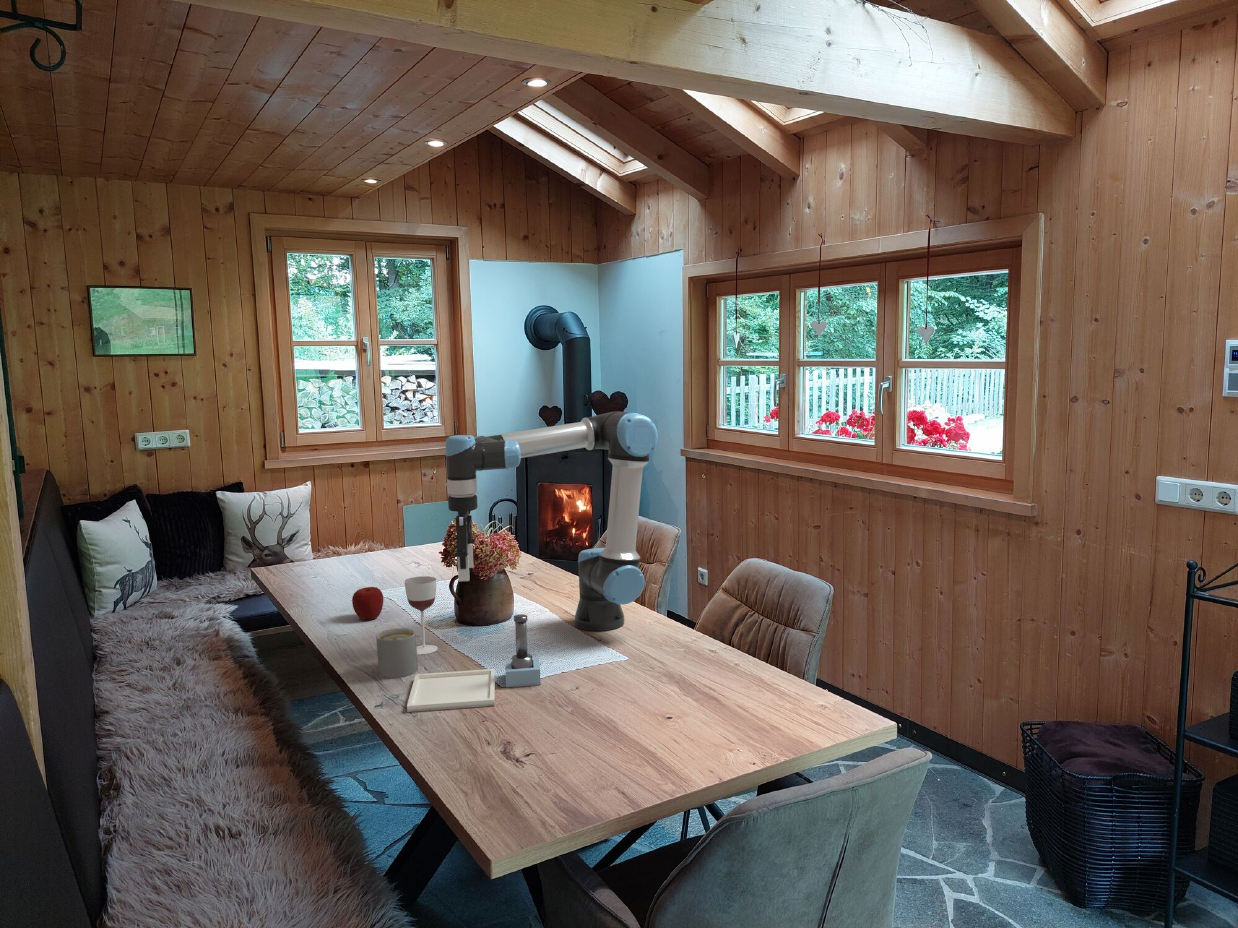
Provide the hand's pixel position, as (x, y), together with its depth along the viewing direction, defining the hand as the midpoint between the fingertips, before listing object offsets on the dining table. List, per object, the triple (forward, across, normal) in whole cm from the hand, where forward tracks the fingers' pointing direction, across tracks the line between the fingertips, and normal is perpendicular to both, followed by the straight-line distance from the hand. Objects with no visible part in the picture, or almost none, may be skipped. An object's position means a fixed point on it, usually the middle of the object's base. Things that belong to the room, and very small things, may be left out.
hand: (466, 574), depth 226 cm
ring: (+24, +14, +14) cm, 32 cm away
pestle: (+24, +14, +14) cm, 32 cm away
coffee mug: (+24, +2, -19) cm, 31 cm away
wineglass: (+24, -12, -14) cm, 31 cm away
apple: (+24, -45, -35) cm, 62 cm away
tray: (+24, +20, -3) cm, 32 cm away
